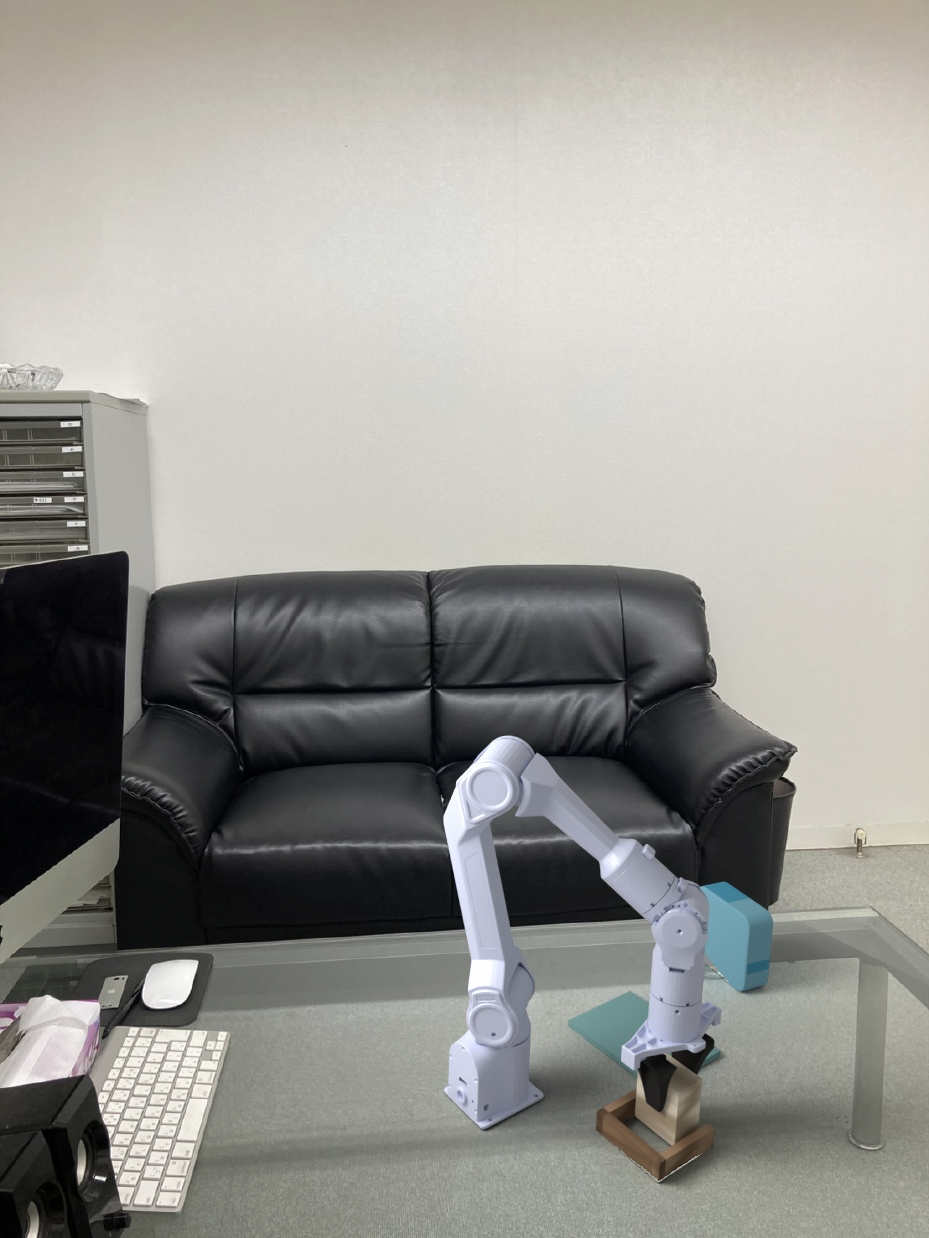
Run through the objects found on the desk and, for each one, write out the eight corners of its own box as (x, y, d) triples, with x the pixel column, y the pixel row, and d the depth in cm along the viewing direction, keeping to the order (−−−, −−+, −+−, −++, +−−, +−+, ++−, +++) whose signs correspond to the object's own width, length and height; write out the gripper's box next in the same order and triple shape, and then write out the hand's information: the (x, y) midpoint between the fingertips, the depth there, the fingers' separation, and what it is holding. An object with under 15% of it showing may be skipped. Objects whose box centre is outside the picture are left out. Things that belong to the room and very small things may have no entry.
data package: (767, 989, 137) (775, 914, 134) (743, 996, 135) (749, 920, 133) (715, 948, 148) (721, 877, 145) (691, 953, 146) (697, 882, 143)
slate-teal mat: (656, 1092, 115) (657, 1087, 115) (567, 1025, 127) (568, 1020, 127) (720, 1056, 122) (720, 1050, 122) (630, 995, 134) (630, 990, 134)
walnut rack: (658, 1183, 101) (659, 1163, 100) (595, 1129, 109) (596, 1110, 108) (712, 1147, 106) (714, 1128, 106) (649, 1098, 114) (650, 1080, 113)
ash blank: (674, 1147, 105) (678, 1092, 103) (634, 1115, 110) (638, 1062, 108) (697, 1132, 107) (702, 1078, 106) (658, 1102, 112) (662, 1050, 111)
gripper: (658, 1033, 98) (650, 1146, 100) (746, 987, 106) (736, 1092, 109) (610, 1000, 103) (603, 1107, 106) (697, 958, 112) (689, 1059, 114)
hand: (667, 1098), depth 108 cm, fingers closed on ash blank, 4 cm apart
